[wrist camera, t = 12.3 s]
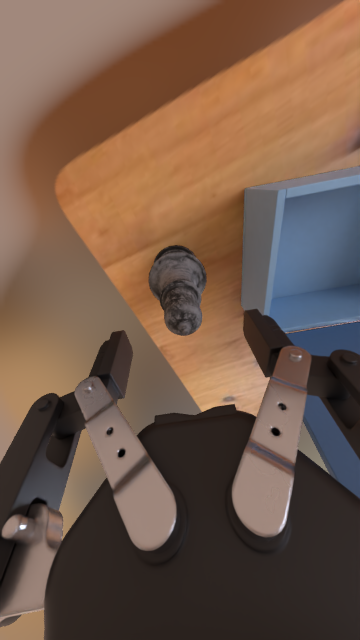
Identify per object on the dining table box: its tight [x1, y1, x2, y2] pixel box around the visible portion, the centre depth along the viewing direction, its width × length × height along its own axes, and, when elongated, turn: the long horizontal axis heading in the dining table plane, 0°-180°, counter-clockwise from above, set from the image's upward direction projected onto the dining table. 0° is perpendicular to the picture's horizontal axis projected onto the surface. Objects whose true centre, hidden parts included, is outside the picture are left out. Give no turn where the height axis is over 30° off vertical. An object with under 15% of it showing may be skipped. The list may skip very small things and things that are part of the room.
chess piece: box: [149, 245, 206, 336], centre depth 18 cm, size 6×6×12 cm
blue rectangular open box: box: [241, 166, 360, 333], centre depth 19 cm, size 13×16×7 cm
